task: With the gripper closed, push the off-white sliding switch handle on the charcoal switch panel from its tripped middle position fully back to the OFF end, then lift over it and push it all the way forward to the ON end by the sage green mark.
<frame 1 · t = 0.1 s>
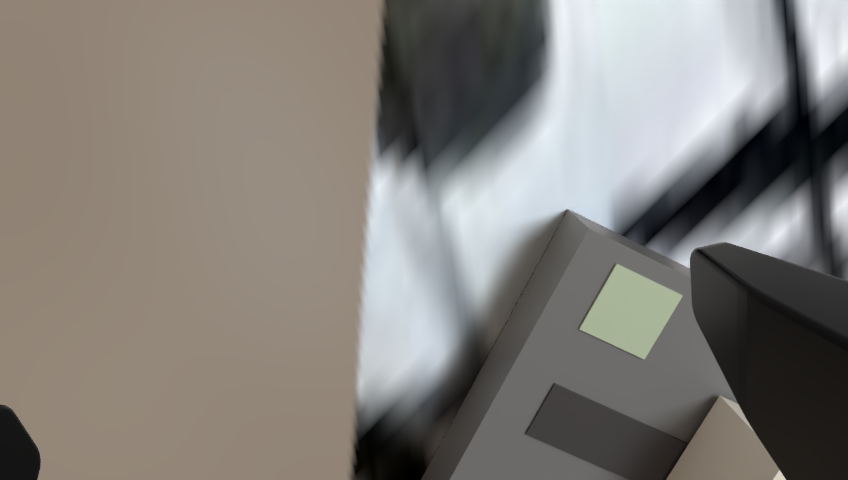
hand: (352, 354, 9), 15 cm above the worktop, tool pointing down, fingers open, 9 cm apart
switch panel: (698, 447, 26), on the worktop
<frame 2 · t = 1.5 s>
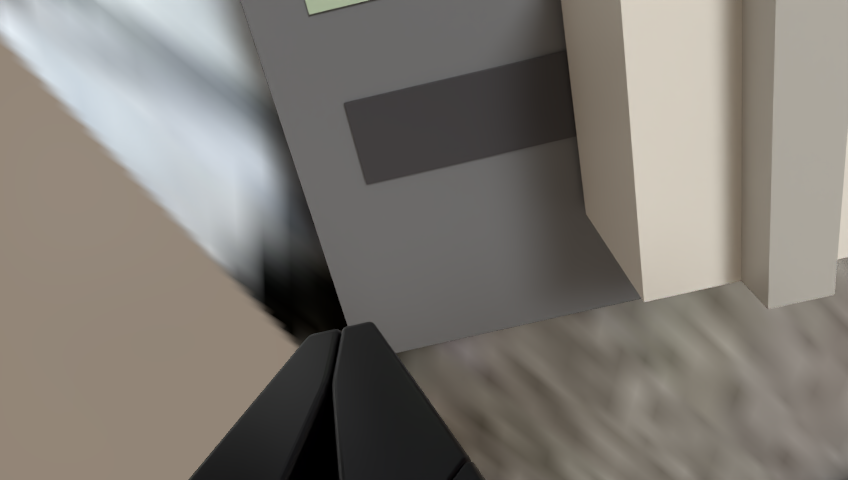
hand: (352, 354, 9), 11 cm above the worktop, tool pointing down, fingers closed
switch panel: (633, 41, 18), on the worktop
switch handle: (735, 102, 13), point 6 cm above the worktop, slide at 0.0 cm
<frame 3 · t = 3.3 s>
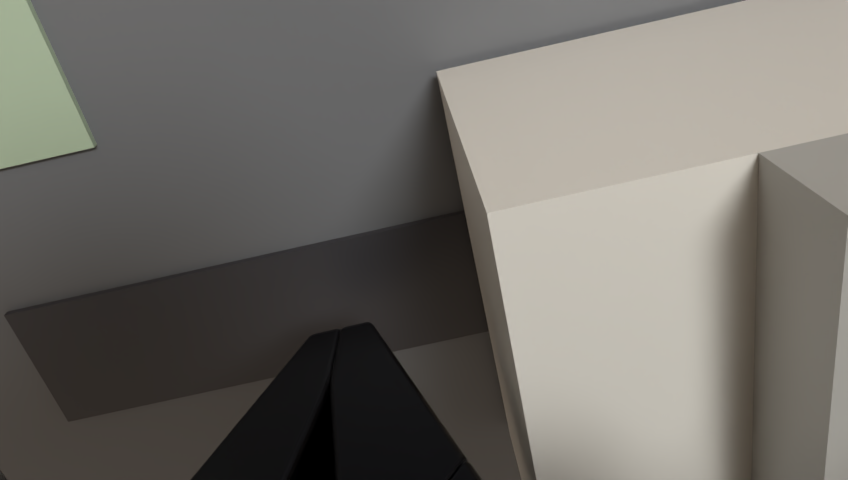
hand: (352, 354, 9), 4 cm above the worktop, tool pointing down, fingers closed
switch panel: (505, 177, 13), on the worktop
switch handle: (738, 347, 7), point 6 cm above the worktop, slide at -1.5 cm, touching gripper
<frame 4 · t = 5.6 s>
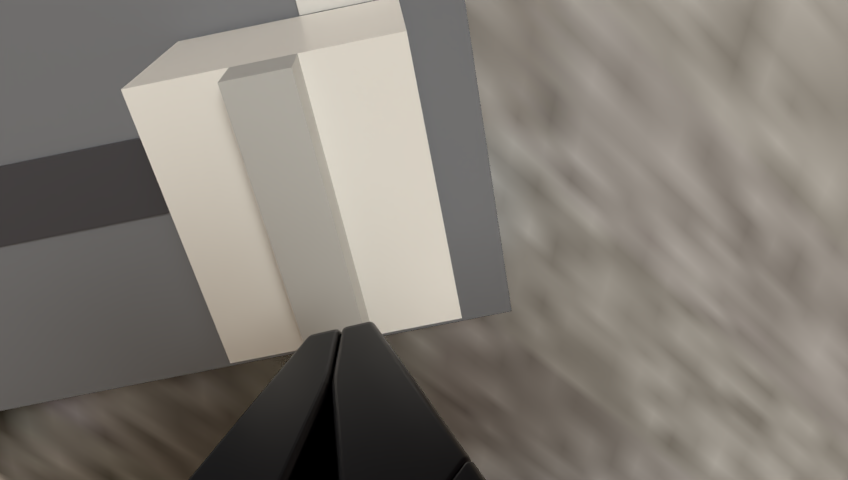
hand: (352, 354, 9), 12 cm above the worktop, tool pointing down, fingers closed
switch panel: (155, 141, 20), on the worktop
switch handle: (314, 184, 14), point 6 cm above the worktop, slide at -5.0 cm
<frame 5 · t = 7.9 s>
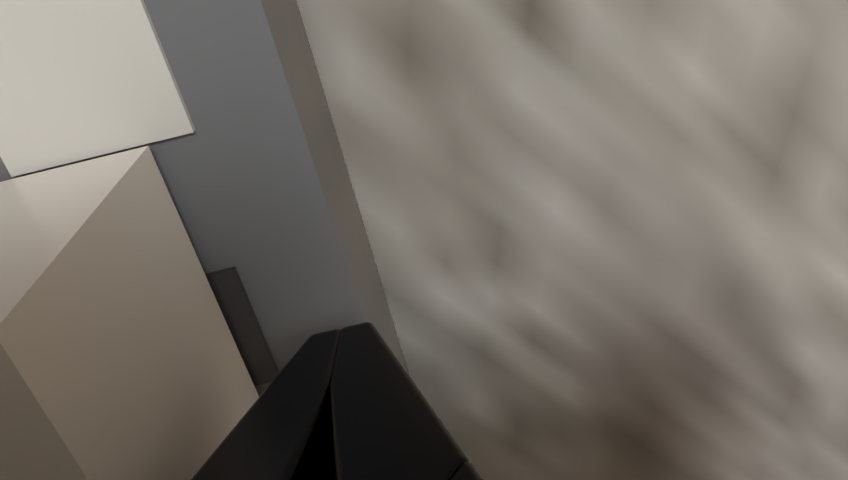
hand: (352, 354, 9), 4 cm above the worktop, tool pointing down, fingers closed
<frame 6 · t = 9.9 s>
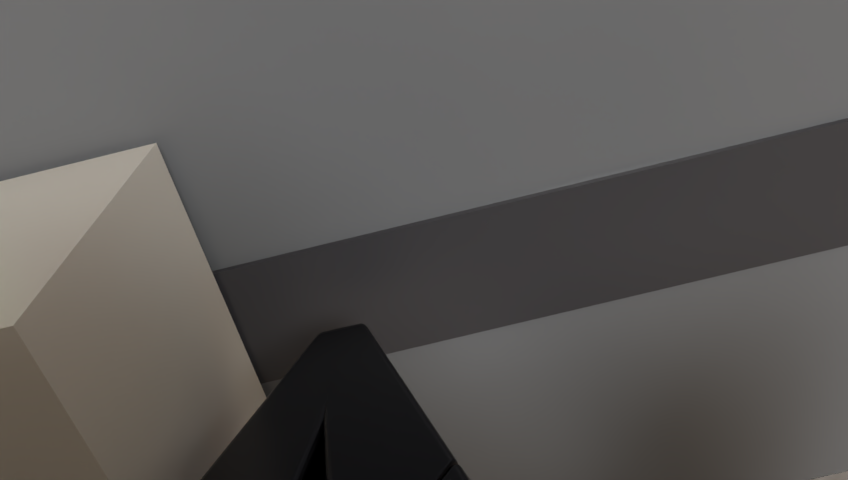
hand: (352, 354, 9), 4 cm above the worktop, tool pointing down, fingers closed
switch panel: (401, 202, 13), on the worktop
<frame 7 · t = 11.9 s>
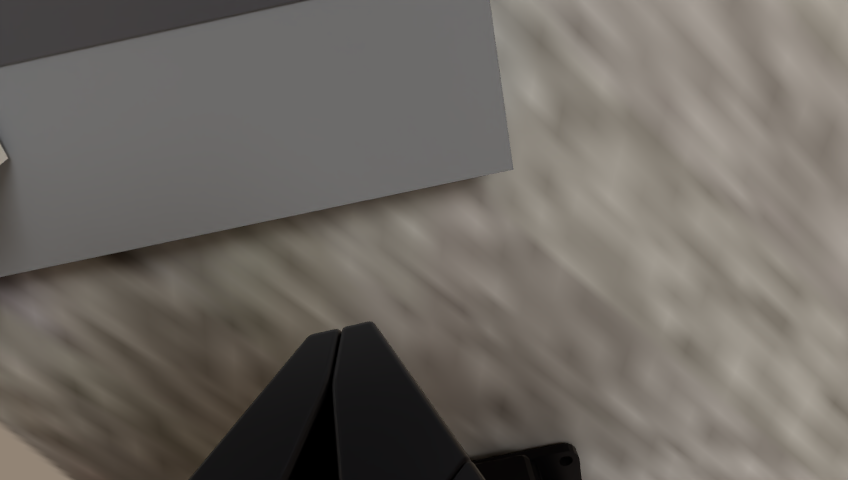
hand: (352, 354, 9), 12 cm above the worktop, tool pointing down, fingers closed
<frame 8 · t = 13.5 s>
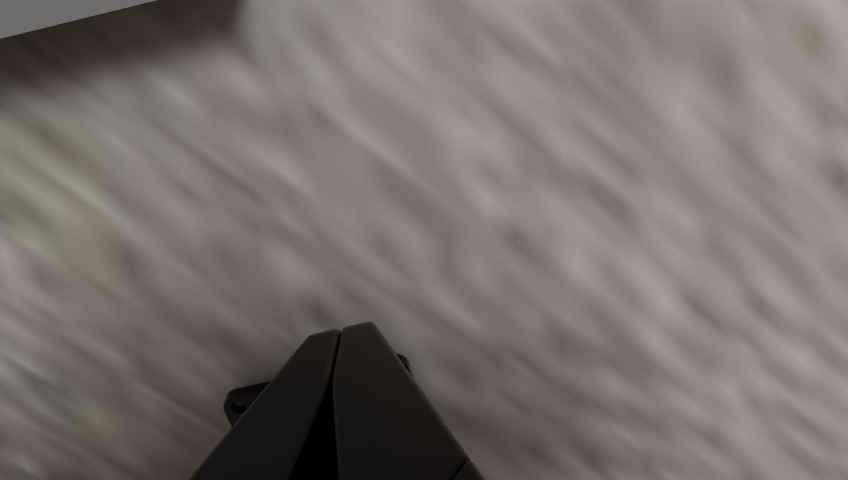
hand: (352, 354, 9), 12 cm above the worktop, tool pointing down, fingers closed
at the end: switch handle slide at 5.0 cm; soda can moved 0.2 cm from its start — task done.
